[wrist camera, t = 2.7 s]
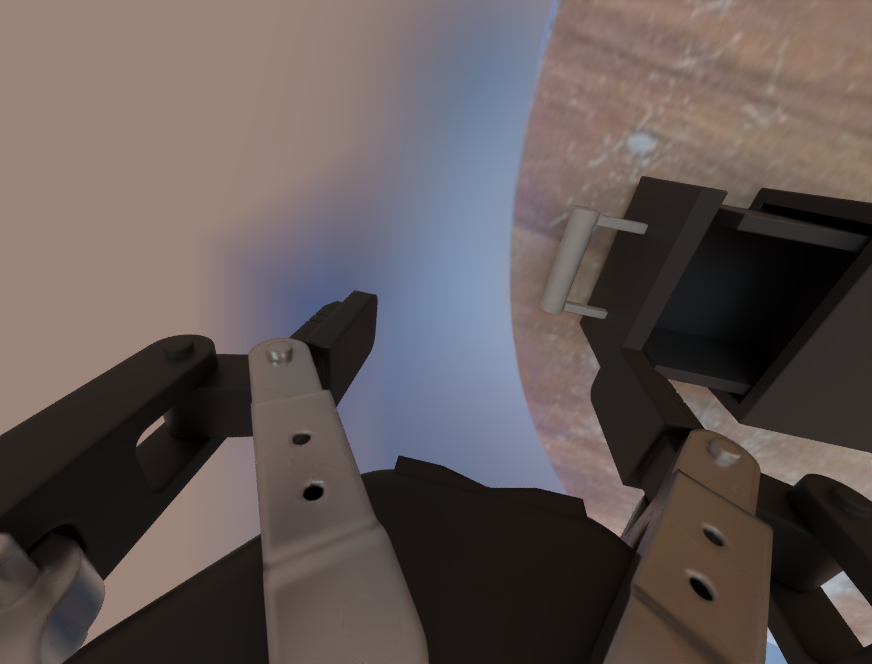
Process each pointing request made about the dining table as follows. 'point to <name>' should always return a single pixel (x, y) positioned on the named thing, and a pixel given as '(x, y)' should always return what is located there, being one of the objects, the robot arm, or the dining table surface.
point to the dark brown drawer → (701, 282)
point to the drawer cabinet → (820, 345)
